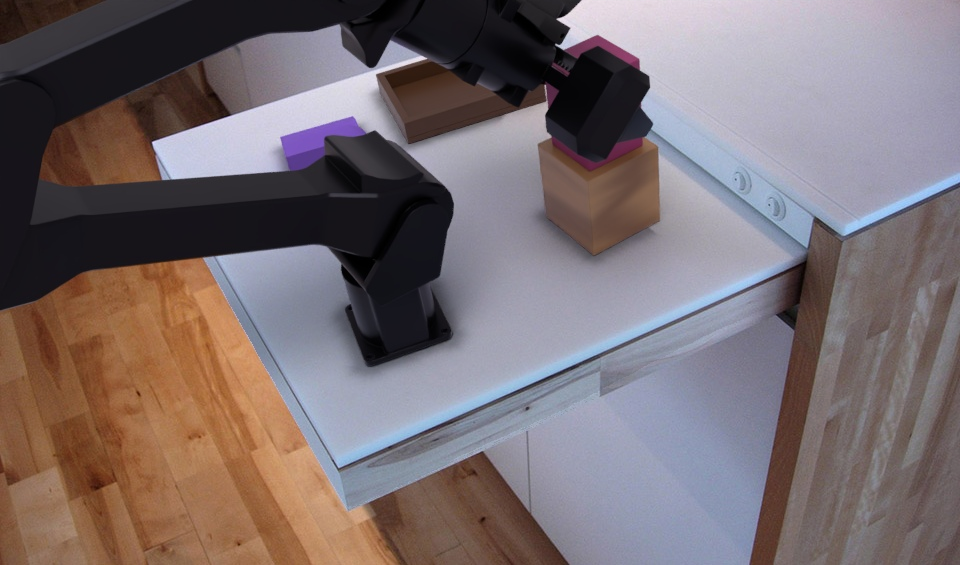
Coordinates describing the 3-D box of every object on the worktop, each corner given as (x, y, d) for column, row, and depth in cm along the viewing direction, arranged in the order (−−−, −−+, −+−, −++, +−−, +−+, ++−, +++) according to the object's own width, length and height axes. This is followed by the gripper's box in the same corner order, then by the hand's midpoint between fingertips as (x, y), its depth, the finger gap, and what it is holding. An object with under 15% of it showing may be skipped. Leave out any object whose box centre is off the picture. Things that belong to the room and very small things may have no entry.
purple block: (386, 201, 86) (369, 132, 81) (307, 225, 85) (285, 157, 80) (356, 130, 95) (339, 65, 90) (284, 150, 94) (263, 86, 89)
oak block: (593, 256, 77) (587, 181, 72) (545, 216, 81) (536, 143, 77) (660, 220, 79) (658, 145, 74) (610, 183, 83) (605, 110, 79)
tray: (546, 100, 94) (544, 80, 92) (408, 144, 92) (403, 123, 90) (509, 54, 101) (506, 34, 100) (380, 93, 99) (375, 73, 97)
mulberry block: (590, 172, 73) (583, 85, 68) (551, 144, 76) (542, 58, 72) (643, 145, 75) (639, 58, 70) (603, 119, 78) (597, 34, 73)
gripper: (616, -56, 55) (762, 50, 66) (442, -138, 68) (589, -37, 78) (512, 125, 58) (668, 198, 68) (363, 14, 70) (515, 91, 81)
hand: (607, 103), depth 74 cm, fingers open, 9 cm apart
